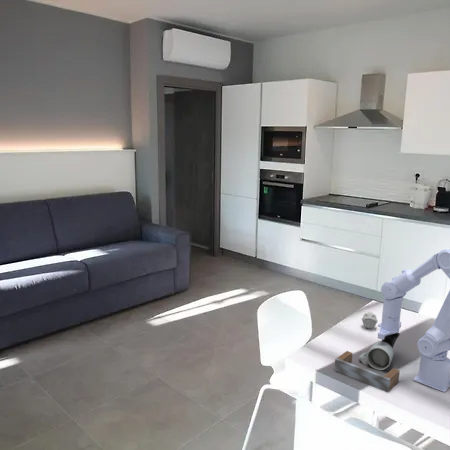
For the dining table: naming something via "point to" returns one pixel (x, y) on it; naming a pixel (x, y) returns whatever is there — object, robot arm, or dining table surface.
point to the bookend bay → (366, 373)
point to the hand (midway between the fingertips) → (387, 352)
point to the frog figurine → (369, 320)
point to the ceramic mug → (378, 355)
